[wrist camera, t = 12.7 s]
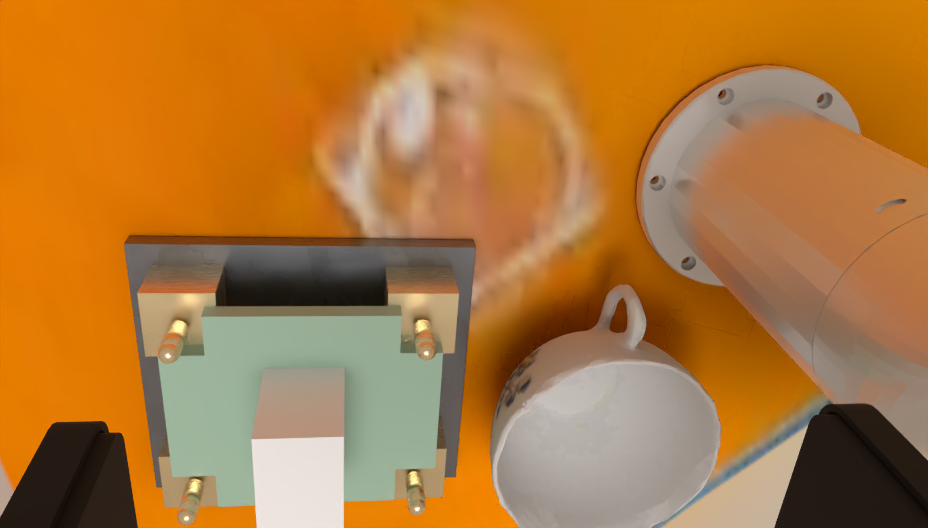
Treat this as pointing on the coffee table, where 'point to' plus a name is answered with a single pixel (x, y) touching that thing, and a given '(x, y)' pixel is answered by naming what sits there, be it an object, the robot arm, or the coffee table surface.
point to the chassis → (300, 284)
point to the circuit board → (301, 340)
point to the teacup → (602, 430)
